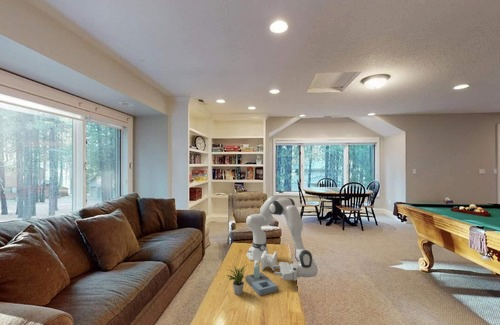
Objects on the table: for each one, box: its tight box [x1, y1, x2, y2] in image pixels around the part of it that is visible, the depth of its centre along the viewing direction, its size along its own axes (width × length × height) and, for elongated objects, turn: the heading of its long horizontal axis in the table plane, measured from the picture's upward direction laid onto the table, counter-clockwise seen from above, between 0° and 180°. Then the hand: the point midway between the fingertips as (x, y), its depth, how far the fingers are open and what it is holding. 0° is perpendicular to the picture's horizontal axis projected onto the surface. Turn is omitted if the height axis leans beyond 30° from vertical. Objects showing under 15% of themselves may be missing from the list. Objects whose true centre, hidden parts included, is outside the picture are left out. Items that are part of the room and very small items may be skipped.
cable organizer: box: [260, 250, 278, 272], centre depth 191 cm, size 15×11×12 cm
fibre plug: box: [253, 261, 261, 279], centre depth 168 cm, size 4×4×14 cm
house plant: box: [226, 265, 247, 296], centre depth 155 cm, size 14×14×16 cm
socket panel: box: [244, 271, 278, 296], centre depth 162 cm, size 21×13×4 cm, turn 25°
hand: (273, 270), depth 168 cm, fingers open, 8 cm apart
